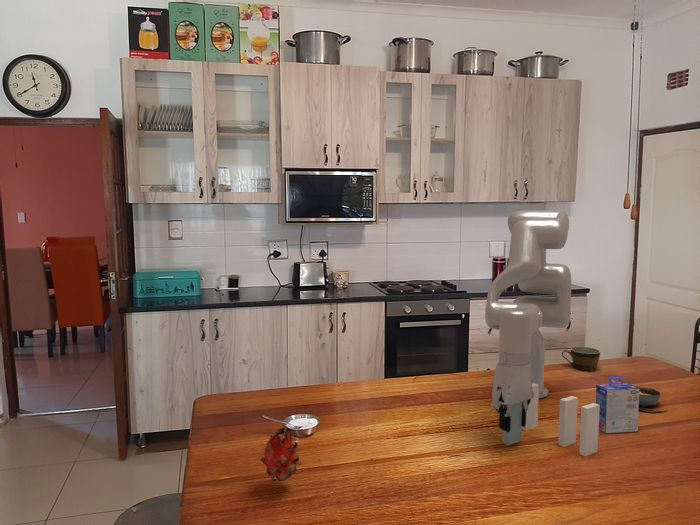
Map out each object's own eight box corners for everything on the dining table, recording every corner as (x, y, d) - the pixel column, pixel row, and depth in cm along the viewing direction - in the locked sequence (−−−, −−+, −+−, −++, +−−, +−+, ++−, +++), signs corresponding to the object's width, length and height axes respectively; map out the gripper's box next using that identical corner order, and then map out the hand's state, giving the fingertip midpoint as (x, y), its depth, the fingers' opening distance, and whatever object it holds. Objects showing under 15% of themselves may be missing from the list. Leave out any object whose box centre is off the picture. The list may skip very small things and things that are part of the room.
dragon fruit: (266, 494, 107) (266, 439, 106) (256, 476, 115) (256, 424, 114) (305, 486, 111) (305, 432, 110) (293, 468, 118) (292, 418, 117)
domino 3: (558, 444, 131) (560, 399, 130) (570, 440, 134) (572, 395, 133) (563, 447, 130) (565, 401, 129) (575, 442, 133) (577, 397, 132)
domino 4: (579, 453, 126) (581, 406, 125) (591, 449, 129) (593, 403, 128) (585, 456, 125) (587, 408, 124) (597, 451, 128) (599, 404, 127)
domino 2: (520, 428, 142) (522, 386, 141) (532, 424, 144) (534, 383, 143) (525, 430, 140) (526, 387, 139) (537, 426, 143) (538, 384, 142)
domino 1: (502, 442, 130) (503, 397, 128) (516, 438, 132) (517, 393, 131) (507, 445, 128) (508, 399, 127) (521, 440, 131) (522, 395, 130)
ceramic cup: (597, 374, 192) (598, 348, 191) (601, 382, 183) (602, 354, 182) (560, 370, 196) (561, 345, 196) (561, 378, 187) (562, 351, 186)
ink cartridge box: (625, 424, 145) (627, 374, 144) (639, 432, 140) (641, 380, 138) (593, 426, 144) (595, 375, 142) (605, 434, 138) (608, 381, 137)
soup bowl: (649, 420, 149) (650, 395, 148) (599, 402, 163) (600, 380, 162) (678, 411, 156) (680, 387, 155) (628, 395, 170) (629, 373, 169)
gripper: (525, 349, 136) (523, 415, 137) (478, 359, 127) (477, 429, 129) (549, 356, 129) (546, 425, 131) (502, 366, 120) (500, 441, 122)
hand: (512, 426), depth 130 cm, fingers closed on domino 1, 4 cm apart
